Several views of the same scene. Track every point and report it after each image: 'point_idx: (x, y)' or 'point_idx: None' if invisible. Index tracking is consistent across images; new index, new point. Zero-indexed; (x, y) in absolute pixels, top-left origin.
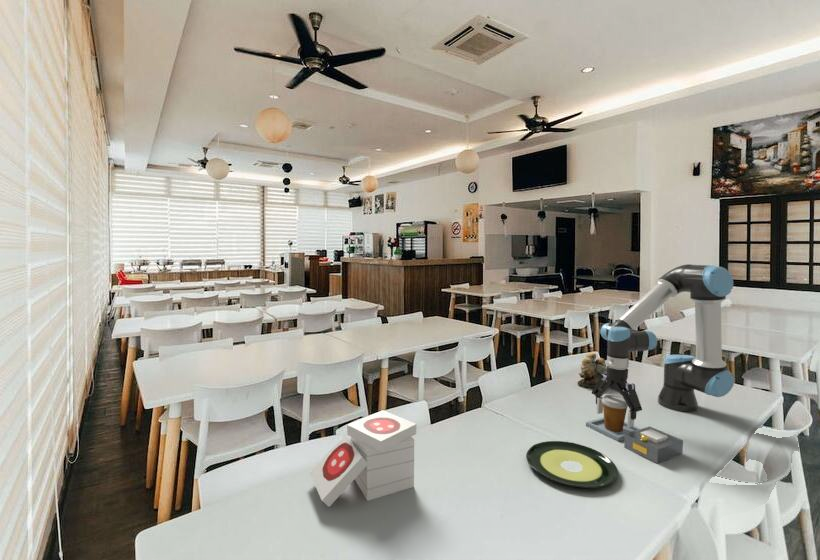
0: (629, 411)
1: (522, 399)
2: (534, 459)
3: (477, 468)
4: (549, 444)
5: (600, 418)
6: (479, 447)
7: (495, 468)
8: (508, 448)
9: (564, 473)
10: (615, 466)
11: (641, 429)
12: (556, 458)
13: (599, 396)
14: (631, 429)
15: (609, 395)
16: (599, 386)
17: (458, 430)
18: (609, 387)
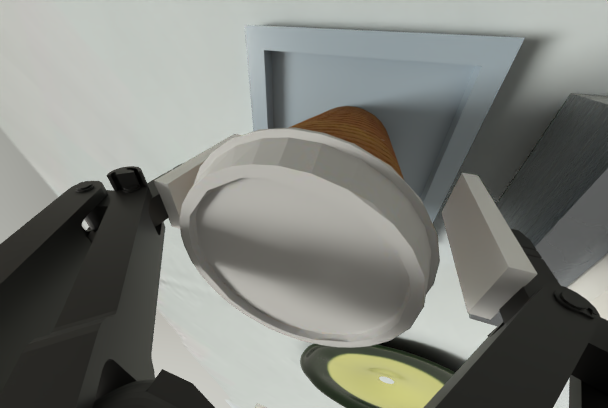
0: (481, 311)
1: (65, 178)
2: (333, 386)
3: (304, 400)
4: (311, 352)
5: (255, 128)
6: (261, 369)
7: (315, 397)
8: (280, 362)
9: (394, 403)
10: None
11: (560, 228)
12: (352, 374)
13: (158, 211)
14: (423, 67)
15: (191, 222)
16: (56, 289)
17: (208, 346)
18: (133, 378)
